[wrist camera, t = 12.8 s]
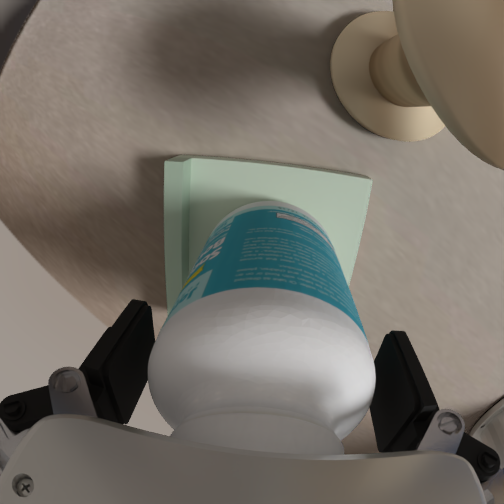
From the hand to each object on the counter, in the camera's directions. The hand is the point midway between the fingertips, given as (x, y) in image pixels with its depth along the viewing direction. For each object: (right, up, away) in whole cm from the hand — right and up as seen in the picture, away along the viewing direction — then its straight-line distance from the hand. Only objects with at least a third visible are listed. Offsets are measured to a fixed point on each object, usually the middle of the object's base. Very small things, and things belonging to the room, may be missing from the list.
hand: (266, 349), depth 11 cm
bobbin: (+8, +14, +3) cm, 16 cm away
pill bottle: (+1, +3, +7) cm, 8 cm away
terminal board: (0, +4, +8) cm, 9 cm away
